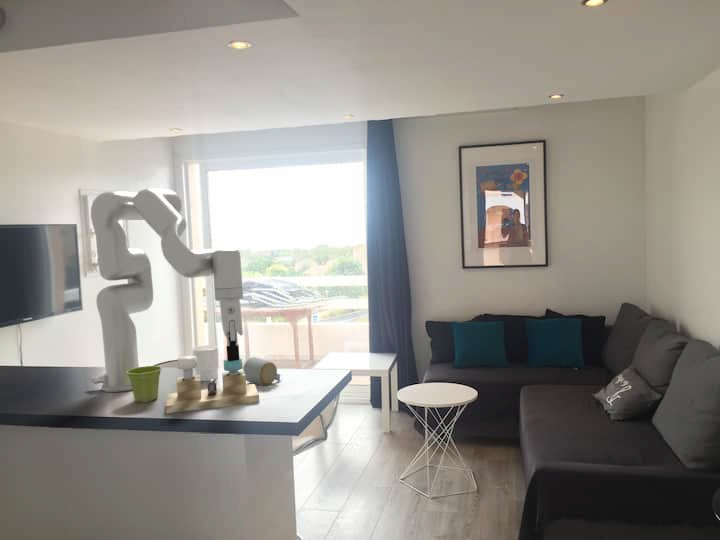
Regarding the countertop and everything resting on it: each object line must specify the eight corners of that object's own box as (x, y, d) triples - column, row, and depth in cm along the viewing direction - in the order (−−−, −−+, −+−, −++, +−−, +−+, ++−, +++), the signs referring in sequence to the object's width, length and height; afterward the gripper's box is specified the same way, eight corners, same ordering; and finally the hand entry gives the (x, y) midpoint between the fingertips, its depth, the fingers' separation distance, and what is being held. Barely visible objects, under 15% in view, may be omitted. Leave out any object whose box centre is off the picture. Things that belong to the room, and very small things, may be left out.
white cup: (216, 381, 181) (214, 349, 180) (191, 382, 181) (189, 350, 180) (222, 375, 189) (220, 344, 188) (198, 376, 189) (196, 345, 188)
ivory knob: (179, 388, 154) (177, 360, 154) (179, 383, 159) (177, 356, 158) (198, 386, 155) (196, 358, 155) (198, 381, 160) (196, 355, 160)
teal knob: (225, 390, 158) (223, 362, 157) (224, 385, 162) (223, 359, 162) (244, 387, 159) (242, 360, 158) (242, 383, 164) (241, 357, 163)
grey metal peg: (208, 396, 158) (207, 381, 157) (207, 393, 160) (206, 379, 160) (217, 394, 158) (216, 380, 158) (216, 392, 161) (215, 378, 160)
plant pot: (128, 398, 166) (125, 368, 166) (162, 393, 170) (160, 364, 169) (129, 406, 158) (126, 375, 157) (165, 401, 162) (163, 370, 161)
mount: (166, 413, 150) (164, 387, 150) (168, 400, 162) (166, 376, 161) (259, 402, 157) (257, 376, 156) (254, 390, 168) (253, 366, 168)
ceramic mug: (261, 388, 171) (260, 362, 170) (242, 384, 176) (241, 359, 175) (286, 380, 179) (285, 355, 179) (268, 377, 184) (267, 353, 184)
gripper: (245, 295, 153) (249, 364, 154) (240, 290, 167) (245, 353, 168) (215, 297, 151) (220, 367, 152) (214, 292, 165) (218, 356, 166)
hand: (233, 359), depth 160 cm, fingers closed
